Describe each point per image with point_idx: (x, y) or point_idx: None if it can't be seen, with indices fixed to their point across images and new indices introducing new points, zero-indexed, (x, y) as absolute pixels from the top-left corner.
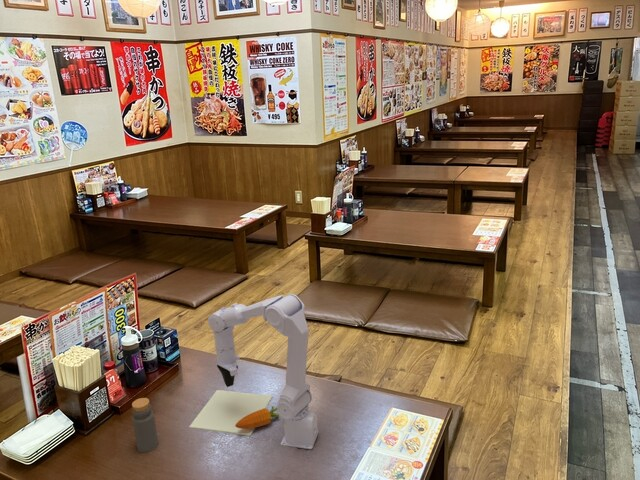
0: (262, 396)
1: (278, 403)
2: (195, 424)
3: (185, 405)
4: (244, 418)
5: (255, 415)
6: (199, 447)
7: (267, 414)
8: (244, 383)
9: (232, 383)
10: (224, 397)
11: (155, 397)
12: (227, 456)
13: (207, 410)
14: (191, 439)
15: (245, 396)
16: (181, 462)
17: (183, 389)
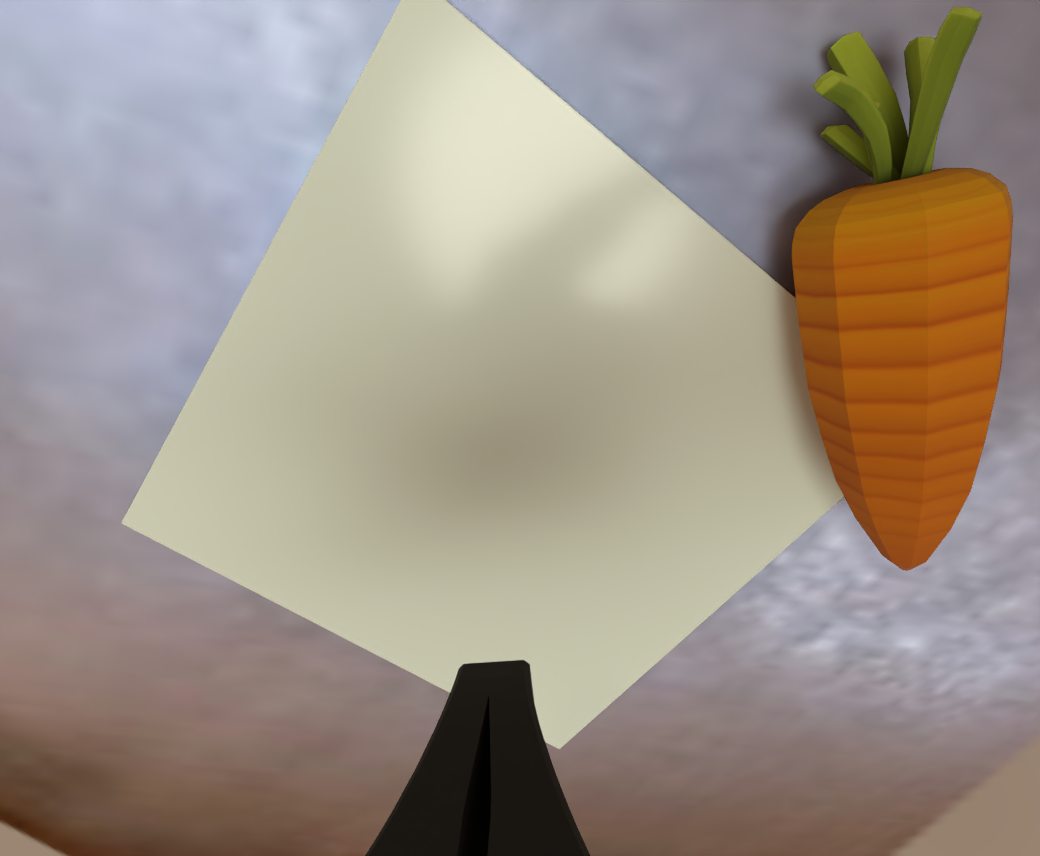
0: (383, 117)
1: None
2: (555, 717)
3: (274, 724)
4: (938, 505)
5: (987, 390)
6: (791, 716)
7: (1010, 226)
8: (22, 242)
9: (532, 697)
10: (268, 491)
11: (122, 842)
12: (1010, 598)
13: (417, 633)
14: (681, 740)
15: (316, 307)
16: (854, 799)
17: (49, 712)
